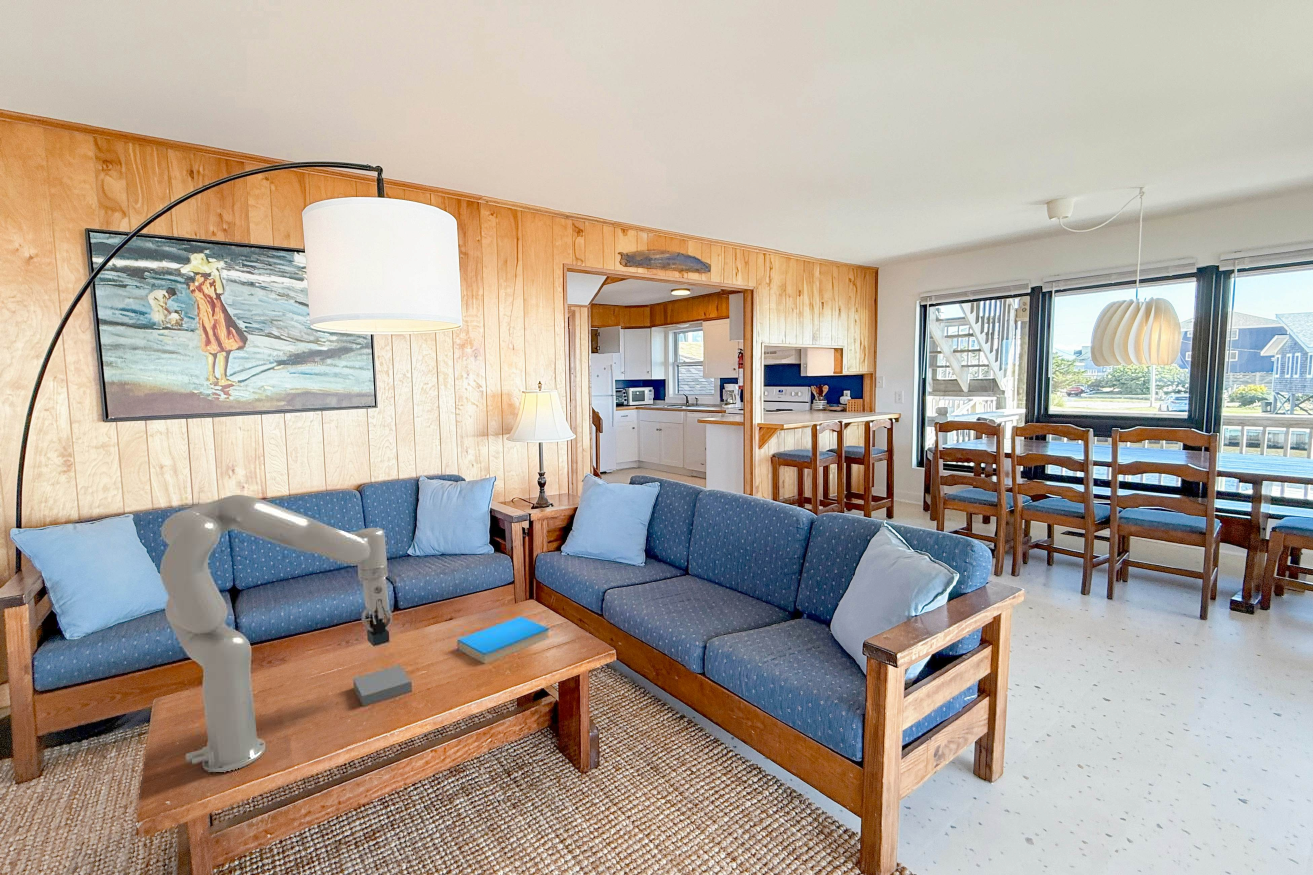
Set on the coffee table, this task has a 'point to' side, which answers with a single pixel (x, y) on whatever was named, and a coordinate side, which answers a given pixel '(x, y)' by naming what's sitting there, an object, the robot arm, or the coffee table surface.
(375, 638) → the watch
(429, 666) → the coffee table surface
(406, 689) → the plinth
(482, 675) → the coffee table surface
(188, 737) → the coffee table surface
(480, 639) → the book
